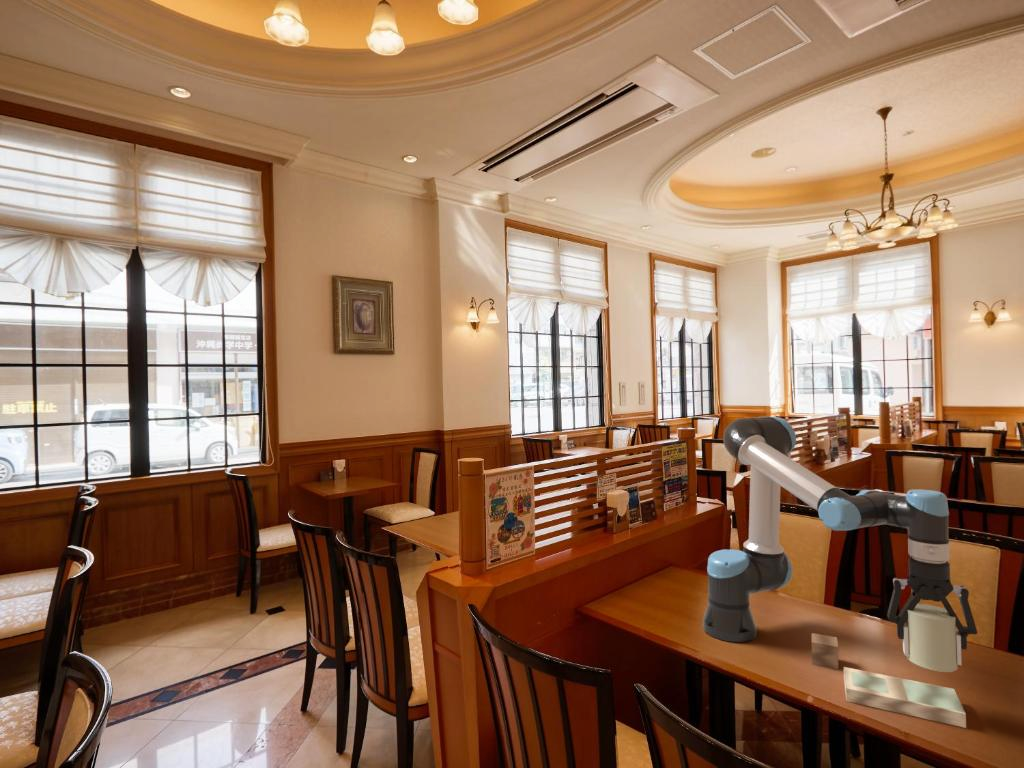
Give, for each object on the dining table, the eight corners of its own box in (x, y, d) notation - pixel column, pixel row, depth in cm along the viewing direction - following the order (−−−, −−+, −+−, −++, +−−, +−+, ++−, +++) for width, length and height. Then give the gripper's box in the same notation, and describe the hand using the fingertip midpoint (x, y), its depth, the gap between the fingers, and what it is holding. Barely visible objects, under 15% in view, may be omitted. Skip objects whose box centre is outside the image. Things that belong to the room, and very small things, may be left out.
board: (846, 701, 127) (846, 688, 127) (843, 678, 137) (843, 666, 137) (966, 727, 117) (965, 713, 117) (954, 701, 126) (953, 688, 126)
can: (942, 676, 118) (940, 620, 118) (897, 657, 126) (896, 605, 126) (966, 666, 122) (965, 612, 122) (921, 649, 130) (920, 598, 130)
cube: (812, 664, 144) (811, 642, 144) (812, 654, 150) (811, 633, 150) (838, 670, 141) (837, 646, 142) (837, 659, 147) (836, 637, 147)
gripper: (874, 557, 126) (876, 654, 126) (995, 570, 116) (998, 676, 116) (870, 548, 133) (873, 641, 133) (985, 560, 122) (987, 660, 122)
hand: (931, 657), depth 124 cm, fingers closed on can, 9 cm apart
